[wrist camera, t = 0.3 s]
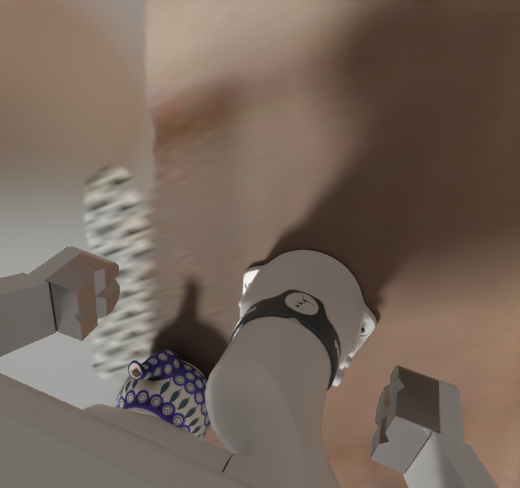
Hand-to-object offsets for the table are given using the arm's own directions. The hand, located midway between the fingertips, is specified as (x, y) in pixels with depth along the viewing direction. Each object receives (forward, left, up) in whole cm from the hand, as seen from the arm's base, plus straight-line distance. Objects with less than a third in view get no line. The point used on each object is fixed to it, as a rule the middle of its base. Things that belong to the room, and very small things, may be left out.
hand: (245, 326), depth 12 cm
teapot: (-48, +15, -41) cm, 65 cm away
